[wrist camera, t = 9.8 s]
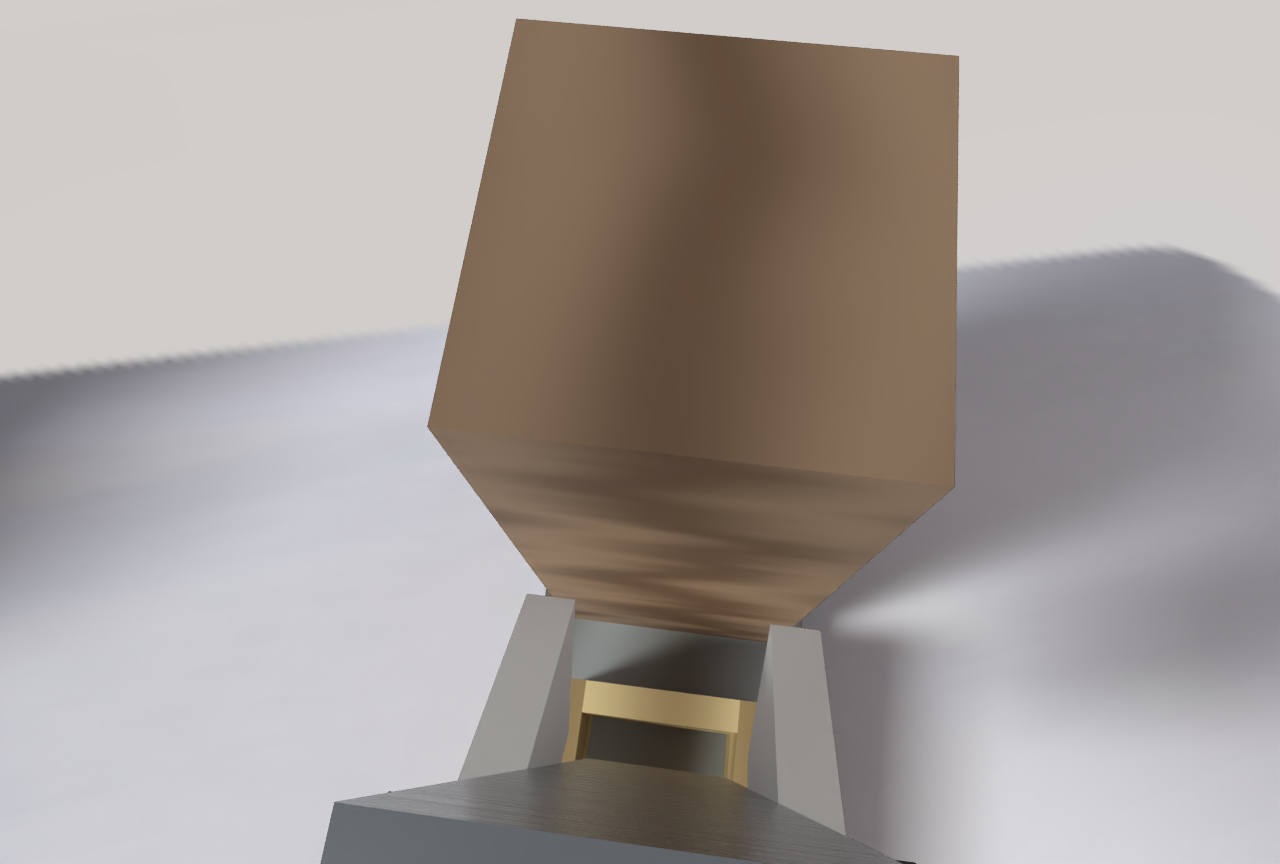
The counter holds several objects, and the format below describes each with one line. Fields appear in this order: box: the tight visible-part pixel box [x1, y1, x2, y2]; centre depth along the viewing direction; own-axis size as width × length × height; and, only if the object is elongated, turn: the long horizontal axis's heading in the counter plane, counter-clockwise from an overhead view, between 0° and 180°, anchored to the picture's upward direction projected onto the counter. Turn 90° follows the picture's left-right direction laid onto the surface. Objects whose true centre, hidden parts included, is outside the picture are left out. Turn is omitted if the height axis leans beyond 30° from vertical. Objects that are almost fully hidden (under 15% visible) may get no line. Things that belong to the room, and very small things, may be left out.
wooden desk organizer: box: [427, 19, 959, 788], centre depth 24 cm, size 10×20×24 cm, turn 173°
